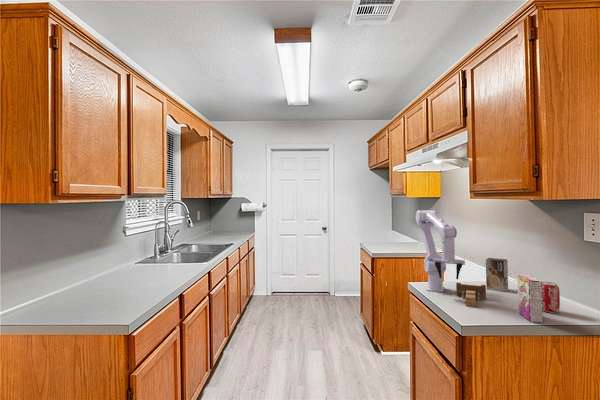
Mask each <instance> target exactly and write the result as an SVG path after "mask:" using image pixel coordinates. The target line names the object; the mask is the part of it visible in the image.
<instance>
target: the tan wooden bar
mask: <svg viewBox="0 0 600 400" xmlns="http://www.w3.org/2000/svg"><path fill="white" fill-rule="evenodd" d="M464 299H465V307H471V308H476V306H477V305H476V304H477V303H476V302H477V298H476V293H475V291H472V290H466V297H465V298H464Z"/></svg>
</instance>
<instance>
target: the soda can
mask: <svg viewBox="0 0 600 400" xmlns="http://www.w3.org/2000/svg"><path fill="white" fill-rule="evenodd" d="M560 298H561V297H560V287H559V286H558V283H556V282H552V281H542V299H543V312H544V311H545V312H544V313H547V312H549V313H548V314H557V313H559V312H560V309H561V299H560Z"/></svg>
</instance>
